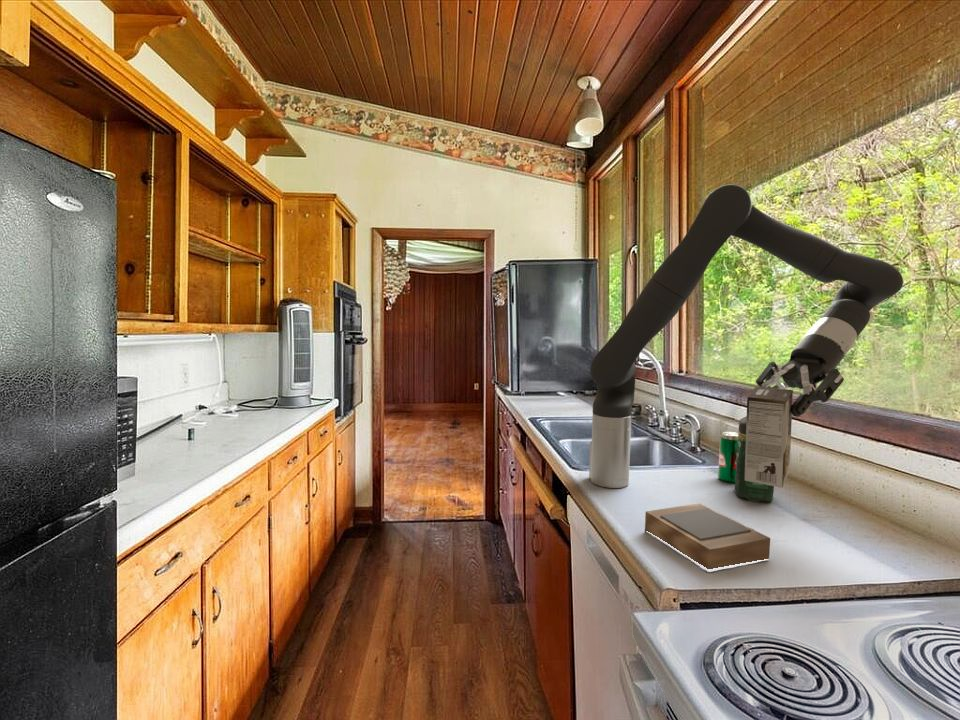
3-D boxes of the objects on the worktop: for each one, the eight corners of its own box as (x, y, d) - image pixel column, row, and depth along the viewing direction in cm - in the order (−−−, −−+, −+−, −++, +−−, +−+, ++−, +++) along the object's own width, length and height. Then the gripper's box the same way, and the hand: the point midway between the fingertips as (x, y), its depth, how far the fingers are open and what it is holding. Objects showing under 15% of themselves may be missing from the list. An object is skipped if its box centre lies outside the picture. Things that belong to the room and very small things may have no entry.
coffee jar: (775, 505, 107) (781, 422, 106) (735, 499, 111) (740, 419, 109) (771, 491, 116) (776, 414, 114) (733, 486, 119) (738, 411, 118)
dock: (644, 531, 94) (645, 509, 94) (698, 522, 98) (699, 501, 98) (708, 573, 79) (709, 547, 79) (768, 560, 83) (770, 536, 83)
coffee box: (752, 464, 97) (755, 385, 95) (790, 471, 93) (794, 388, 91) (742, 480, 90) (745, 396, 88) (783, 488, 86) (787, 400, 84)
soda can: (716, 476, 127) (718, 430, 126) (738, 478, 125) (740, 432, 124) (719, 482, 122) (722, 435, 121) (742, 484, 121) (745, 437, 119)
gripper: (780, 331, 100) (732, 390, 97) (854, 334, 86) (801, 403, 83) (797, 356, 102) (751, 414, 99) (872, 363, 88) (820, 431, 86)
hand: (774, 409), depth 91 cm, fingers closed on coffee box, 7 cm apart
